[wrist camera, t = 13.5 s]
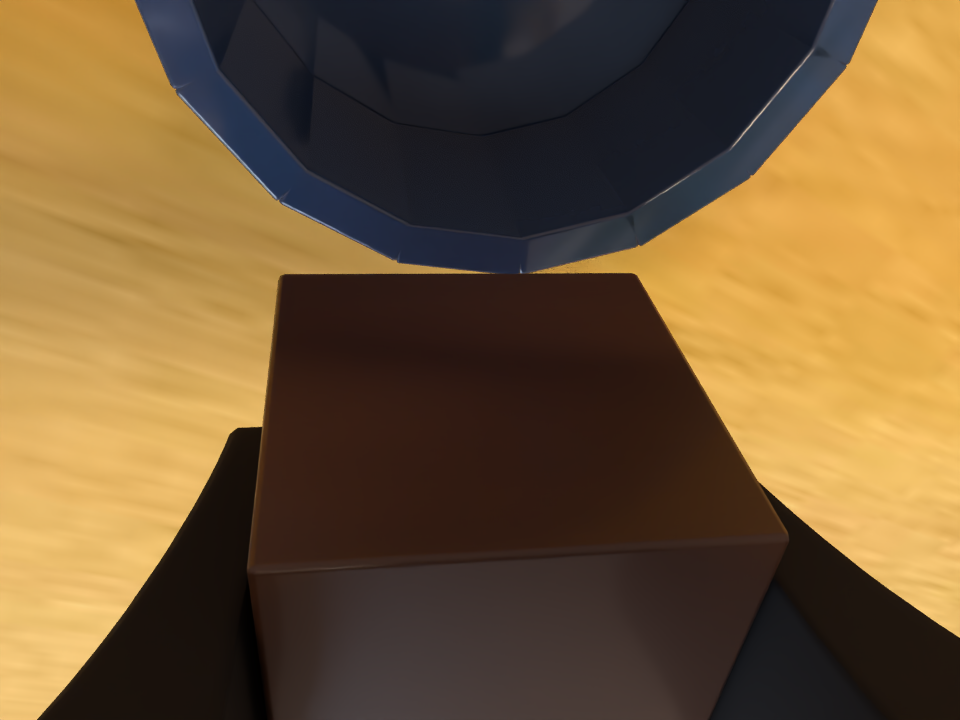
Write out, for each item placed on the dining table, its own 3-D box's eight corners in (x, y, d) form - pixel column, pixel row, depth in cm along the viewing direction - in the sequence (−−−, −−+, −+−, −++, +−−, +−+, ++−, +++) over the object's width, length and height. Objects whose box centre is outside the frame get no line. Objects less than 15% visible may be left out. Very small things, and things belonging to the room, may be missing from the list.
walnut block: (298, 529, 14) (282, 843, 10) (278, 271, 11) (244, 571, 7) (583, 513, 14) (676, 798, 10) (637, 271, 12) (794, 537, 8)
